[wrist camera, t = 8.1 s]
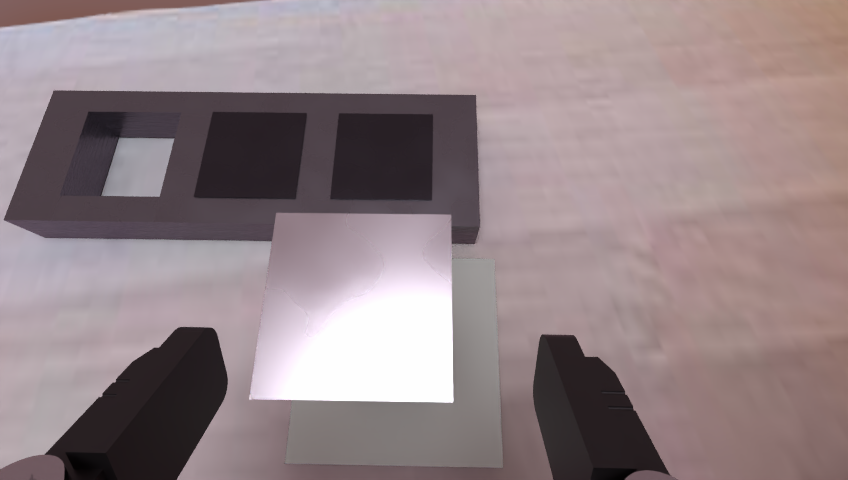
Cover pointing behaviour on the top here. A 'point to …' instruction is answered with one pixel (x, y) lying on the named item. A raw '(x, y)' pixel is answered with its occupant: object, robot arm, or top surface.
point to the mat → (420, 421)
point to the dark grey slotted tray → (250, 162)
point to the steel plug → (357, 309)
